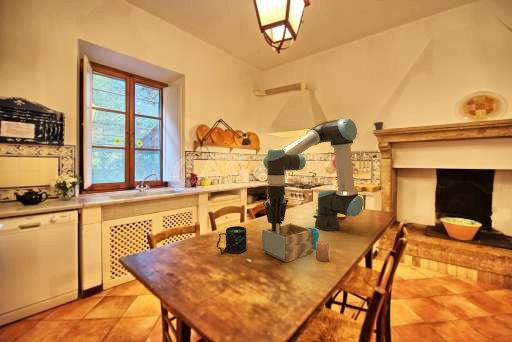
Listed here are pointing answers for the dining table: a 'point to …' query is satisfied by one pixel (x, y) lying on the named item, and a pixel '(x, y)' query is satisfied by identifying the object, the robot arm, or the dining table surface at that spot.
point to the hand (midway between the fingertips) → (276, 238)
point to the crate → (296, 241)
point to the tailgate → (273, 244)
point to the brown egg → (322, 251)
